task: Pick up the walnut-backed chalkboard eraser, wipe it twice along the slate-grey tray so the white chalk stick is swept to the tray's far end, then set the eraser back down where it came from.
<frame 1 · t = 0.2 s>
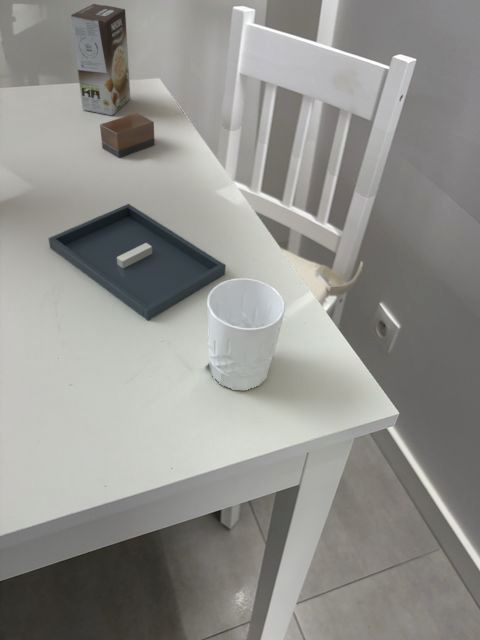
eraser: (128, 146, 96), on the table
white cup: (238, 370, 63), on the table
tray: (137, 265, 73), on the table
chalk: (135, 259, 73), point 1 cm above the table, touching tray
coffee box: (107, 105, 107), on the table
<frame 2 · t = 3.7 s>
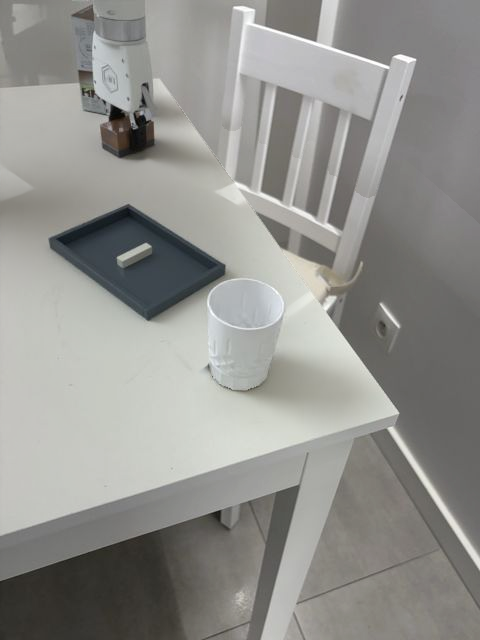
hand: (128, 141, 96), 1 cm above the table, tool pointing down, fingers closed on eraser, 4 cm apart
eraser: (128, 146, 96), on the table, touching gripper
everything else where it was.
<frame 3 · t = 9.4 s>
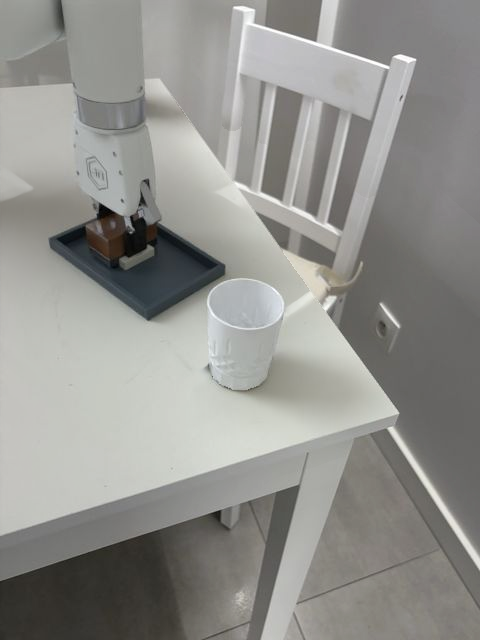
hand: (123, 243, 73), 2 cm above the table, tool pointing down, fingers closed on eraser, 4 cm apart
eraser: (124, 248, 74), point 1 cm above the table, touching chalk, gripper
chalk: (137, 260, 73), point 1 cm above the table, touching eraser, gripper, tray
everything else where it was.
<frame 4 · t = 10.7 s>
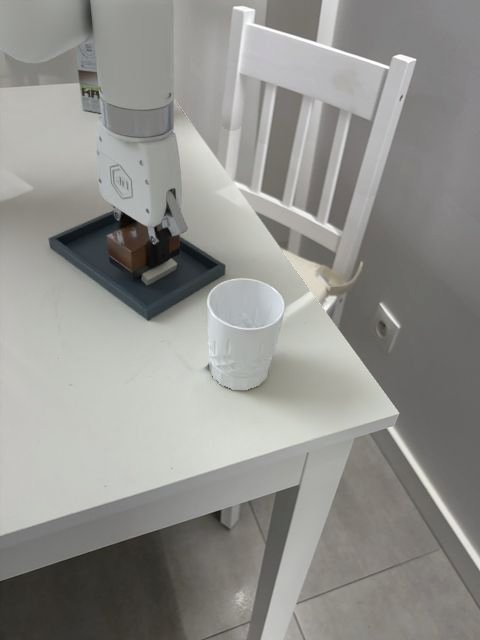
hand: (144, 253, 71), 3 cm above the table, tool pointing down, fingers closed on eraser, 4 cm apart
eraser: (145, 258, 71), point 2 cm above the table, touching gripper
chalk: (158, 274, 71), point 1 cm above the table, tilted 14°, touching tray
everything else where it was.
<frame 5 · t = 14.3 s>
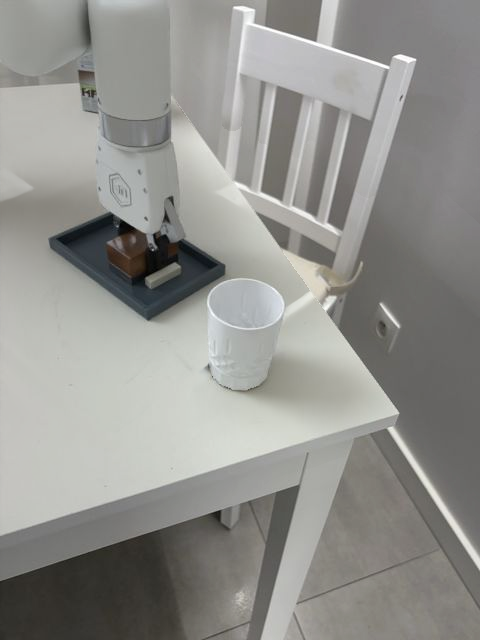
hand: (143, 259, 72), 2 cm above the table, tool pointing down, fingers closed on eraser, 4 cm apart
eraser: (144, 264, 72), point 1 cm above the table, touching gripper
chalk: (163, 279, 71), point 1 cm above the table, touching gripper
everything else where it was.
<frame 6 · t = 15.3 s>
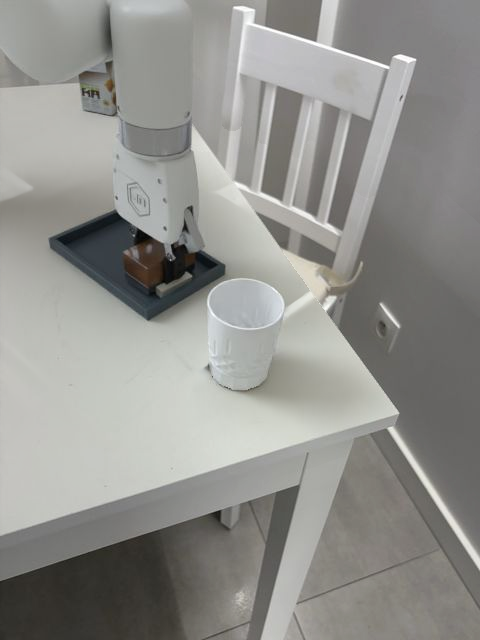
hand: (160, 268, 70), 2 cm above the table, tool pointing down, fingers closed on eraser, 4 cm apart
eraser: (160, 274, 71), point 1 cm above the table, touching gripper
chalk: (171, 282, 70), point 1 cm above the table, tilted 91°, touching gripper, tray
everything else where it was.
when the fingers open (1 cm above the table, at t = 23.1 s): eraser stays where it is, on the table.
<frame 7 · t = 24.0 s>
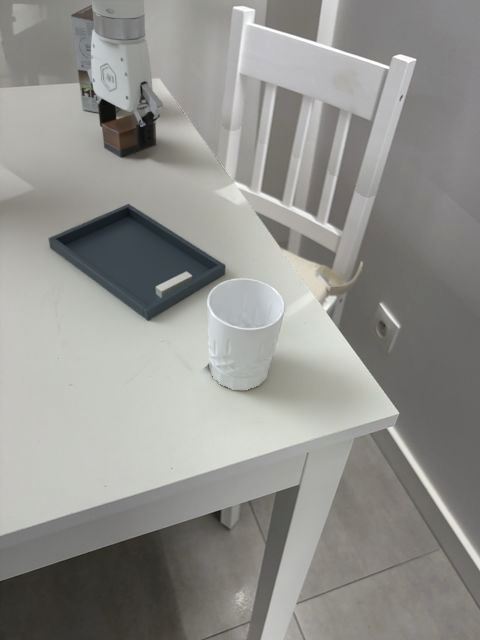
hand: (126, 135, 95), 2 cm above the table, tool pointing down, fingers open, 9 cm apart
eraser: (130, 146, 97), on the table
chalk: (171, 282, 70), point 1 cm above the table, tilted 90°, touching tray
everything else where it was.
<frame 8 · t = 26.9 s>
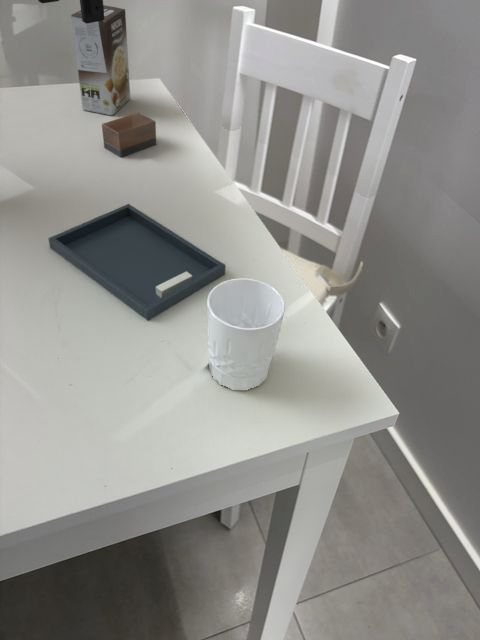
hand: (71, 11, 75), 22 cm above the table, tool pointing down, fingers open, 9 cm apart
nothing on the table moved.
at the end: chalk inside the target area in the tray (0.3 cm from its centre), point 1.4 cm above the tray's base; eraser inside the target area (0.4 cm from its centre), on the table; the gripper is holding nothing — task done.
